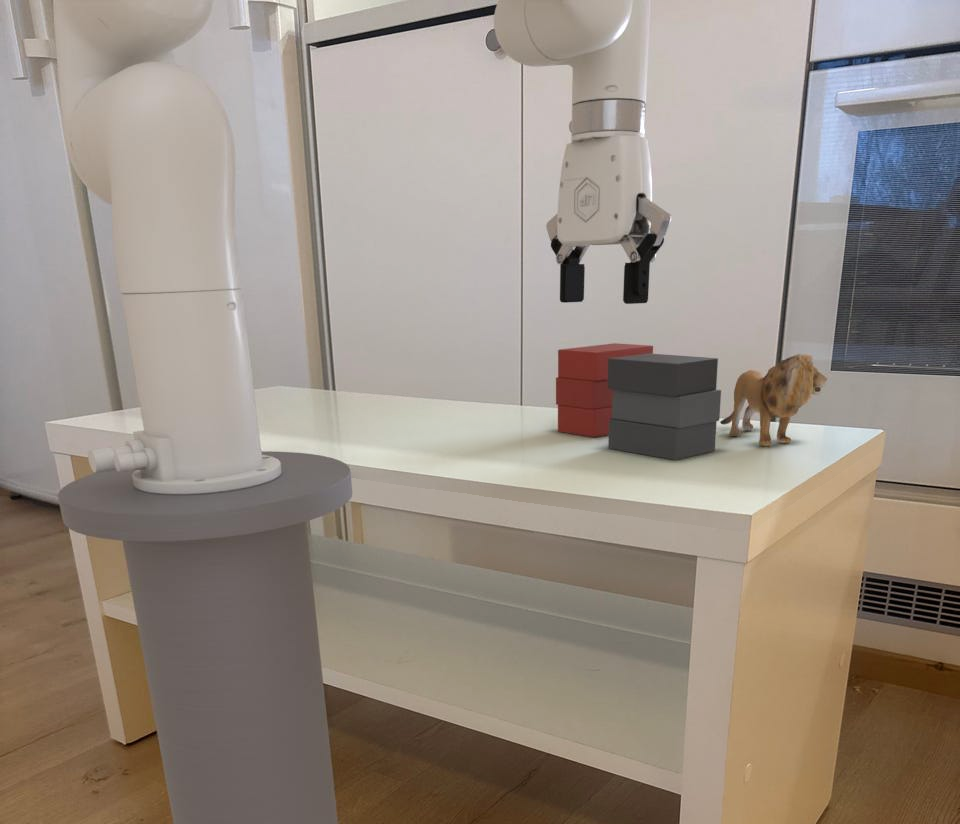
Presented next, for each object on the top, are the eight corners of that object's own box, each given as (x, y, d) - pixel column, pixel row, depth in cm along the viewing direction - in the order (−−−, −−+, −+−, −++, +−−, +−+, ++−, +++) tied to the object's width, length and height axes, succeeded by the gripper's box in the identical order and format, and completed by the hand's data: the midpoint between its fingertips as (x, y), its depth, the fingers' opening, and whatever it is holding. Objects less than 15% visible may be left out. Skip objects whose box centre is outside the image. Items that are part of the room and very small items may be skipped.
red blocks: (650, 426, 109) (652, 373, 107) (593, 437, 104) (594, 381, 102) (611, 421, 114) (612, 369, 111) (555, 431, 108) (555, 377, 106)
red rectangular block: (652, 373, 107) (653, 345, 106) (595, 381, 102) (596, 352, 101) (614, 369, 111) (614, 343, 110) (557, 377, 106) (557, 349, 105)
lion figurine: (827, 447, 95) (837, 354, 91) (783, 452, 93) (791, 357, 89) (739, 426, 107) (745, 343, 104) (699, 430, 106) (704, 346, 102)
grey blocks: (675, 460, 91) (679, 364, 88) (606, 448, 98) (607, 358, 94) (717, 451, 95) (723, 358, 91) (648, 440, 101) (651, 352, 98)
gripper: (525, 133, 101) (524, 302, 107) (646, 111, 89) (637, 305, 95) (576, 138, 106) (572, 300, 112) (698, 118, 93) (686, 302, 99)
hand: (602, 302), depth 103 cm, fingers open, 9 cm apart
